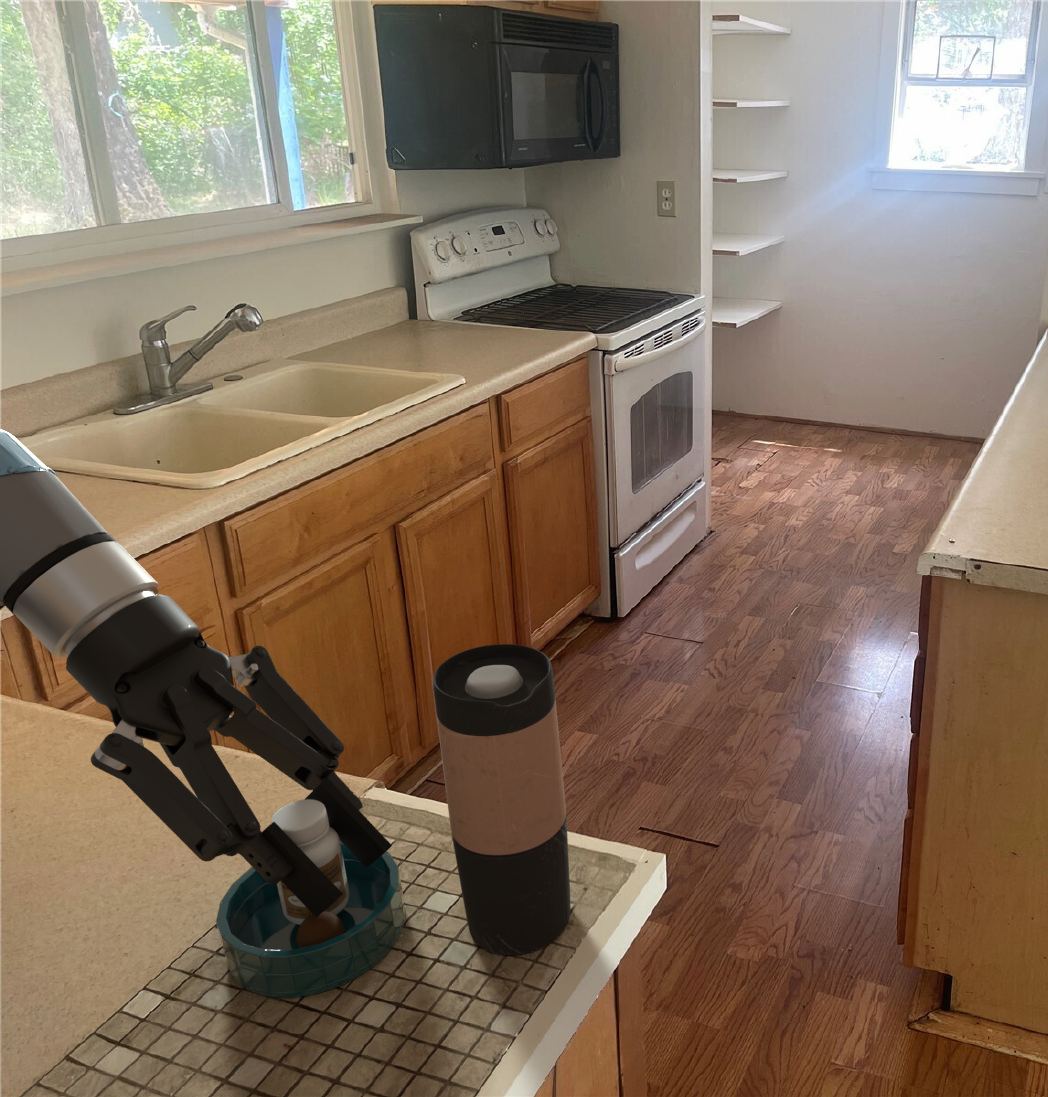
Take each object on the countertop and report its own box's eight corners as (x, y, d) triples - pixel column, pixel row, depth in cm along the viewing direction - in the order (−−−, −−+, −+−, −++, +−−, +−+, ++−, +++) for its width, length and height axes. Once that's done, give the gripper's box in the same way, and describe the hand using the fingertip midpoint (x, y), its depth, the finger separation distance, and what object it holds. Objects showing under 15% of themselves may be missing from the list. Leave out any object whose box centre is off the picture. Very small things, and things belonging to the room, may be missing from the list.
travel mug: (492, 875, 77) (463, 637, 69) (589, 889, 75) (570, 648, 68) (445, 950, 70) (407, 695, 62) (551, 966, 68) (526, 708, 61)
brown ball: (311, 973, 69) (310, 963, 66) (288, 935, 69) (286, 924, 67) (353, 945, 70) (353, 934, 68) (330, 908, 71) (330, 897, 69)
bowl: (248, 1027, 64) (237, 984, 63) (212, 918, 73) (201, 879, 71) (428, 946, 70) (422, 906, 69) (375, 855, 79) (369, 818, 78)
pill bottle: (290, 936, 69) (269, 843, 66) (278, 898, 73) (258, 807, 70) (357, 911, 71) (340, 820, 68) (342, 875, 75) (325, 787, 72)
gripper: (195, 603, 78) (406, 827, 79) (-32, 720, 63) (234, 995, 64) (236, 547, 74) (458, 782, 75) (6, 657, 59) (287, 950, 60)
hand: (354, 879), depth 69 cm, fingers closed on pill bottle, 4 cm apart
